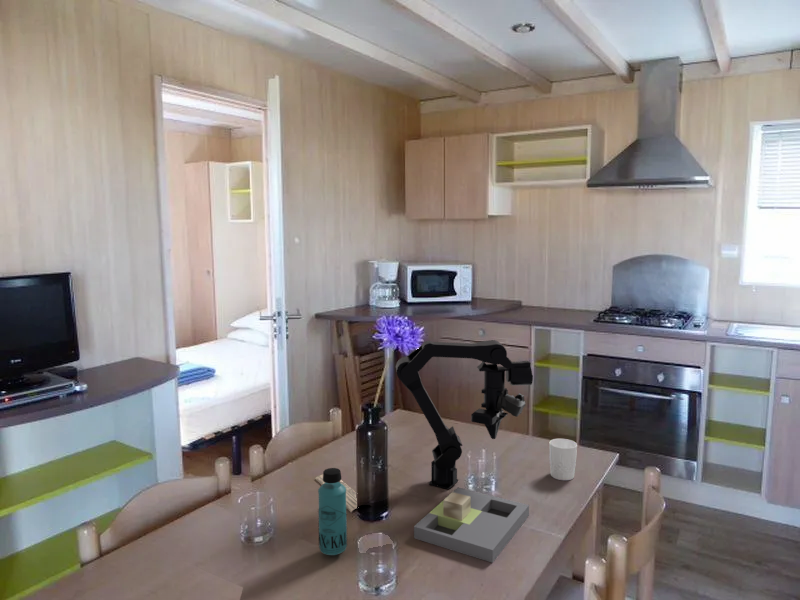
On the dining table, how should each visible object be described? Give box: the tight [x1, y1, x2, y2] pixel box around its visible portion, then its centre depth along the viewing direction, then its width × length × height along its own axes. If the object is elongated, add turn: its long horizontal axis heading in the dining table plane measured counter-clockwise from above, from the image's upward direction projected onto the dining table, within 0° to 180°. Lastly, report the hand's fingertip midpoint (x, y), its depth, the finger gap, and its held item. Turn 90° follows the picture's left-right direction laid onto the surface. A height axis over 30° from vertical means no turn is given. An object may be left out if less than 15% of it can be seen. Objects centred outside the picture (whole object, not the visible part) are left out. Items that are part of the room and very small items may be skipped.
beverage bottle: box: [317, 467, 348, 556], centre depth 133 cm, size 6×7×20 cm
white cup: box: [548, 438, 578, 481], centre depth 173 cm, size 8×8×10 cm
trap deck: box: [413, 487, 530, 564], centre depth 145 cm, size 20×24×3 cm
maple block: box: [442, 491, 471, 521], centre depth 145 cm, size 5×5×4 cm
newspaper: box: [315, 473, 358, 513], centre depth 165 cm, size 24×7×2 cm, turn 31°
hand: (493, 438), depth 168 cm, fingers closed
